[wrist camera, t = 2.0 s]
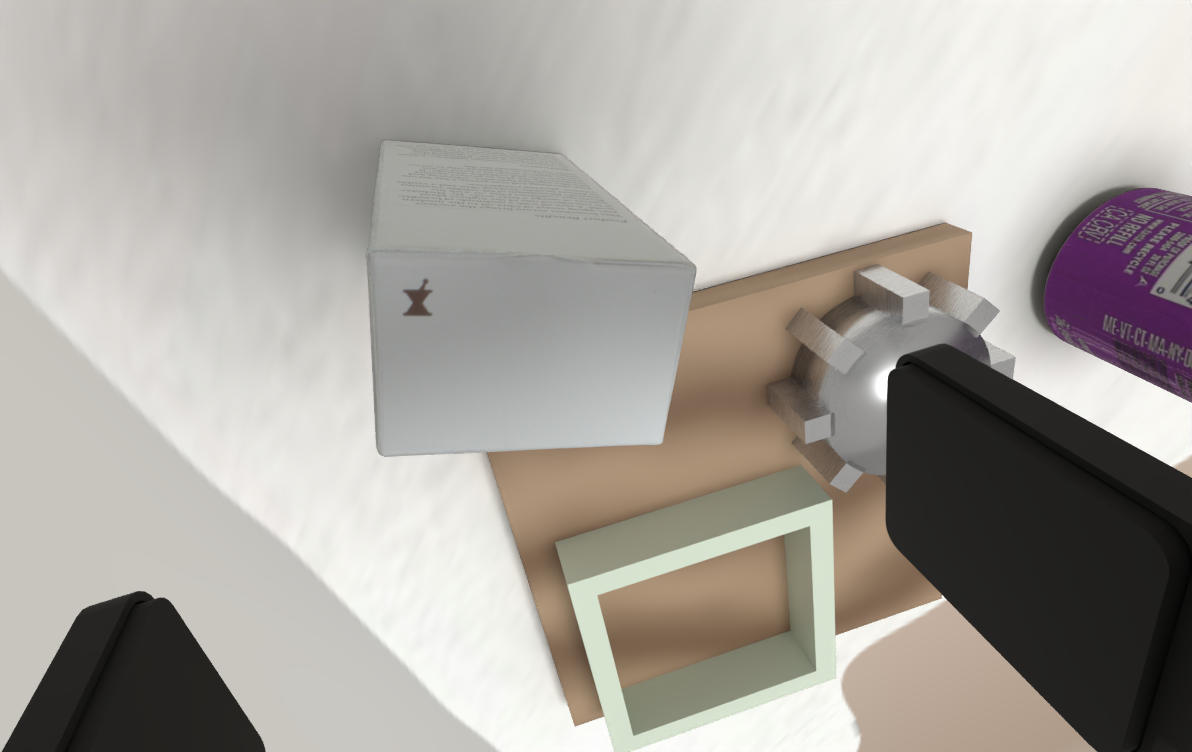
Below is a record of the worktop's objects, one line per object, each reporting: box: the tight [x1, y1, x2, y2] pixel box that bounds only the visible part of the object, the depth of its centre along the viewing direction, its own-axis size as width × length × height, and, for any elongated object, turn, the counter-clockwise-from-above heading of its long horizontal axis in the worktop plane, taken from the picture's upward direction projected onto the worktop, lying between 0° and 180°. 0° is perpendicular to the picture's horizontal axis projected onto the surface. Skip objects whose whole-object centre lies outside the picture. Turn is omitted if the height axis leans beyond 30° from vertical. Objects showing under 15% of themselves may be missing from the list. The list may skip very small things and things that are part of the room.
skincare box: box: [366, 140, 696, 457], centre depth 18 cm, size 6×4×12 cm
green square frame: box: [555, 465, 836, 752], centre depth 31 cm, size 11×11×2 cm
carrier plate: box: [487, 223, 972, 726], centre depth 31 cm, size 20×20×2 cm
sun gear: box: [767, 264, 1015, 492], centre depth 27 cm, size 9×9×4 cm
